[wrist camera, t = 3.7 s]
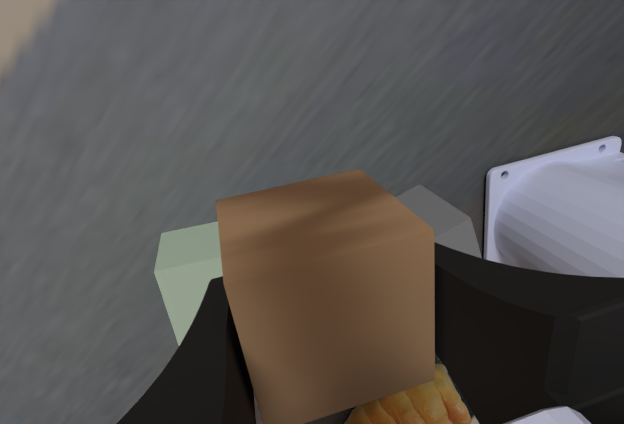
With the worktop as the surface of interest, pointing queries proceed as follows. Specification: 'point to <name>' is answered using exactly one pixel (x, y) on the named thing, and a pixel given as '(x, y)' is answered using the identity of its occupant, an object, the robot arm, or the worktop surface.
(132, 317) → the worktop surface
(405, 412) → the pastry
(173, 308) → the green base block
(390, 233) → the walnut cube
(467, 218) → the charcoal cube
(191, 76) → the worktop surface
